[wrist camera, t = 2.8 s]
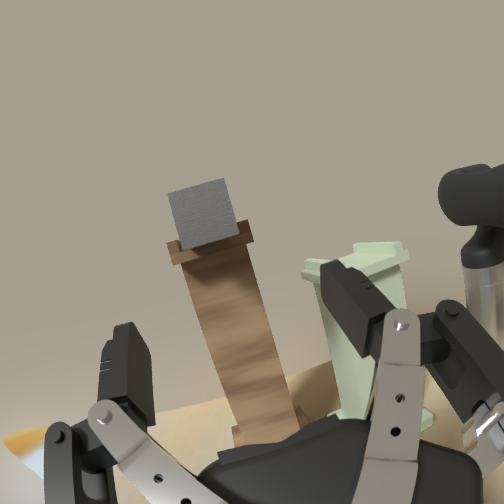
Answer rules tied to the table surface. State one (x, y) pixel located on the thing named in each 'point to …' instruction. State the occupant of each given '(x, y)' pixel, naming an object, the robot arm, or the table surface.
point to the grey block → (203, 214)
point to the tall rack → (239, 337)
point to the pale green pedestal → (342, 351)
